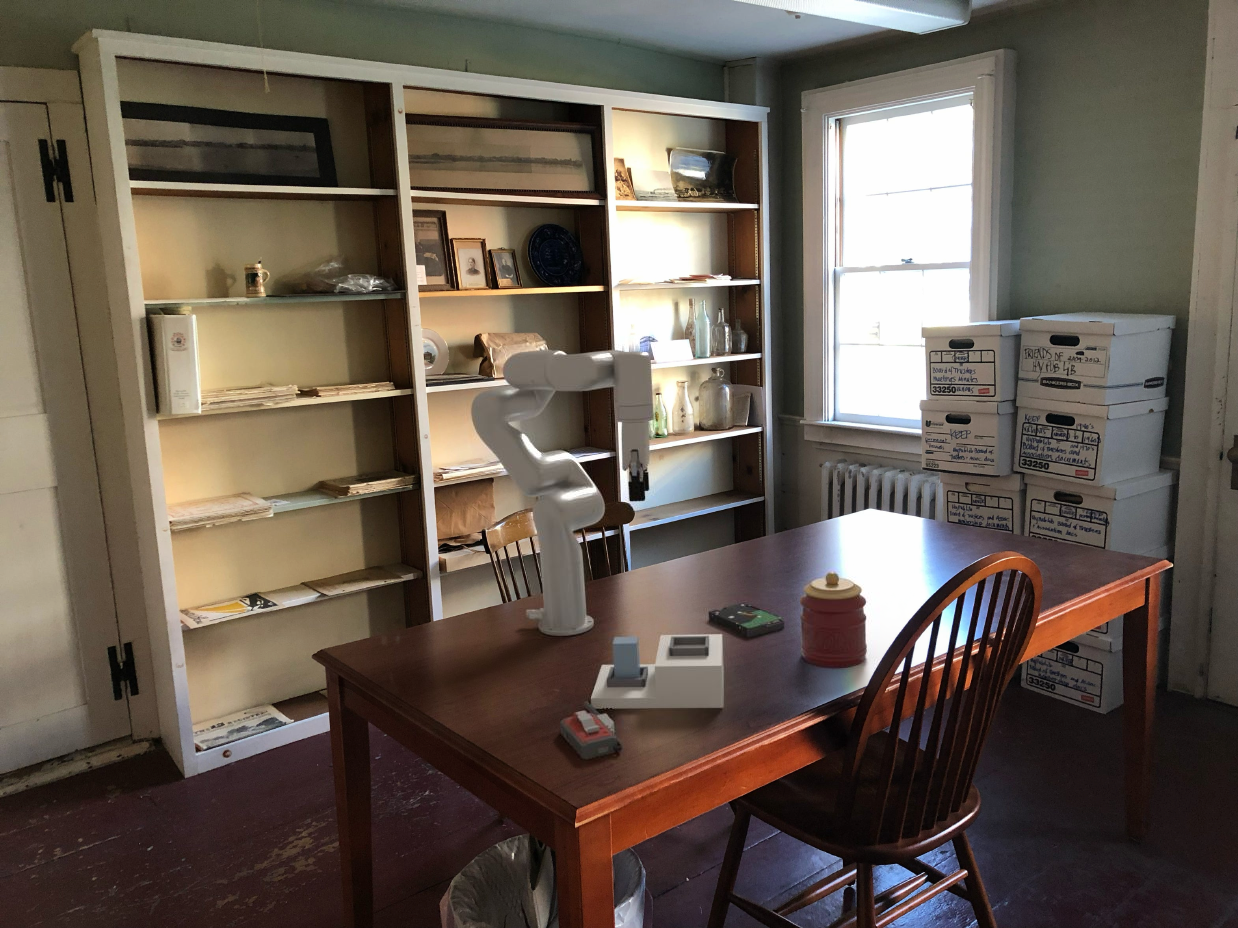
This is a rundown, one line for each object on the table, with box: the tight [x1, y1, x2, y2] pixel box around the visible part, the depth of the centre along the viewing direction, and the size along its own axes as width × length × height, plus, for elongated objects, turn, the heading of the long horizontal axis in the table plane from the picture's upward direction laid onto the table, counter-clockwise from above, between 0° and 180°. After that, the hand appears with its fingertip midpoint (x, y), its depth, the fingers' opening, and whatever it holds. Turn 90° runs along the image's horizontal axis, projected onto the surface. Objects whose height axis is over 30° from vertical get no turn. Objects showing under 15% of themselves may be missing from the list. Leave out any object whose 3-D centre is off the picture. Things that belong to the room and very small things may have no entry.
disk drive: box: [708, 602, 785, 638], centre depth 216 cm, size 10×3×15 cm
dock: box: [590, 633, 725, 710], centre depth 182 cm, size 24×16×10 cm, turn 84°
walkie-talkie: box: [560, 700, 623, 760], centre depth 166 cm, size 9×4×20 cm
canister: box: [799, 571, 868, 668], centre depth 193 cm, size 13×13×18 cm
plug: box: [612, 636, 641, 678], centre depth 182 cm, size 4×4×8 cm
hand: (639, 495), depth 198 cm, fingers open, 9 cm apart
